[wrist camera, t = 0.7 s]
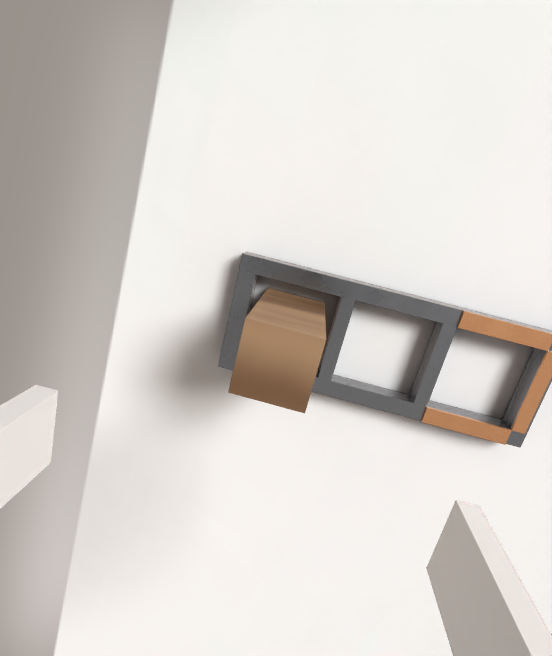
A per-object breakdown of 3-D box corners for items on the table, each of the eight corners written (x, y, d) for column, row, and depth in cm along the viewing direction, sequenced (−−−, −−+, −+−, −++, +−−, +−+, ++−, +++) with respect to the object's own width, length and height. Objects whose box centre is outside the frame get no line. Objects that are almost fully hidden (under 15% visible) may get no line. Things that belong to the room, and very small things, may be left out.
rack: (246, 251, 31) (242, 253, 30) (559, 332, 30) (573, 339, 29) (222, 359, 34) (217, 367, 32) (511, 437, 33) (521, 448, 31)
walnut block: (268, 287, 32) (245, 318, 22) (324, 302, 32) (326, 339, 22) (255, 341, 33) (228, 392, 24) (309, 355, 33) (304, 413, 23)
